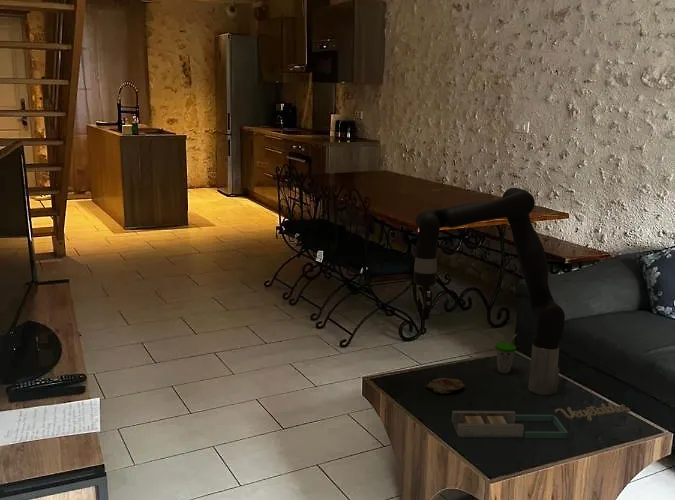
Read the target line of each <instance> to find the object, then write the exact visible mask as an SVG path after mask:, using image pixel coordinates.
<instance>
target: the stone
mask: <svg viewBox="0 0 675 500" xmlns="http://www.w3.org/2000/svg"><path fill="white" fill-rule="evenodd" d="M464 387H466V386H465V384H464V383H463V381H462V380H461V379H457V378H447V377H440V378H436V379H431V380H430V381H429V382H428V384H426V385H425V388H427V390H432V391H433V393H436V394H440V395H444V394H450V393H453V392H455V391H459V390H461V389H462V388H464Z"/></svg>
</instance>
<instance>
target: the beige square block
mask: <svg viewBox="0 0 675 500" xmlns="http://www.w3.org/2000/svg"><path fill="white" fill-rule="evenodd" d="M464 423H465V424H484V422H483V420H482V418H481V416H465V422H464Z"/></svg>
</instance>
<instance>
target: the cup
mask: <svg viewBox="0 0 675 500" xmlns="http://www.w3.org/2000/svg"><path fill="white" fill-rule="evenodd" d="M517 336H518V334H517V333H515V334H514V335H513V336H512V338H511V343H509V342H498V343H496V344H495V345H494V346H495V348H494V349H496V365H497V371H498V372H499V373H500V374H510V372H511V370H512V369H511V368H512V365H513V361H514V356H515V352H516V350H517V346H516V344H514V339H515V337H517Z"/></svg>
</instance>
